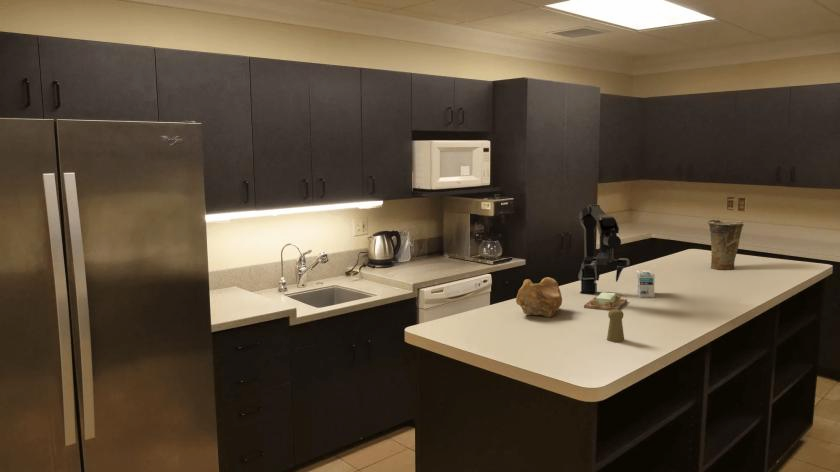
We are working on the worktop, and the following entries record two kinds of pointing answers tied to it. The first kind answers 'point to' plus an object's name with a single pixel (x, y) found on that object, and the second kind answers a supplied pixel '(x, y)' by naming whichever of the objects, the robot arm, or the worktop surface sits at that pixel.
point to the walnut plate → (606, 304)
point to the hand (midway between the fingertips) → (606, 280)
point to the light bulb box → (645, 283)
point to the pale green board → (605, 298)
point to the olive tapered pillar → (615, 326)
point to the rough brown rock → (540, 297)
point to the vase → (724, 243)
